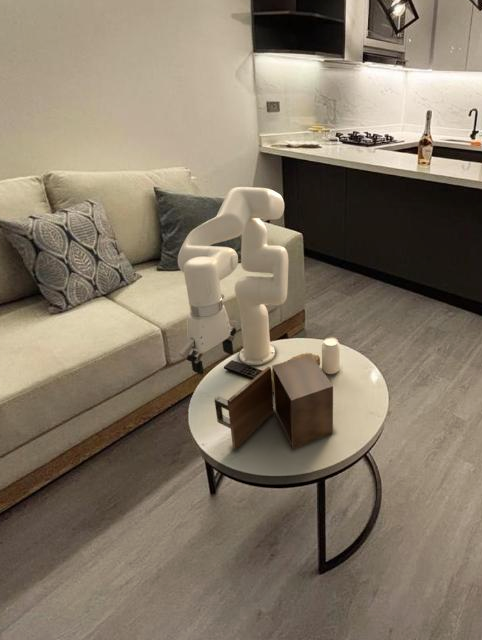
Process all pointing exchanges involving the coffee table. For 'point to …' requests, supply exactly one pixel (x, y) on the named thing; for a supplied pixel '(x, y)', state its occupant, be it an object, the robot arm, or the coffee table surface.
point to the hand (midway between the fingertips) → (214, 362)
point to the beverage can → (330, 355)
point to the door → (247, 407)
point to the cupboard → (303, 400)
